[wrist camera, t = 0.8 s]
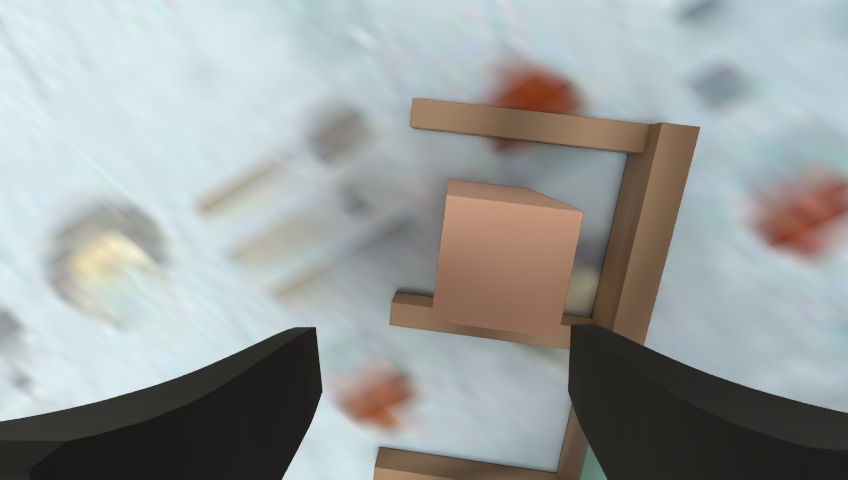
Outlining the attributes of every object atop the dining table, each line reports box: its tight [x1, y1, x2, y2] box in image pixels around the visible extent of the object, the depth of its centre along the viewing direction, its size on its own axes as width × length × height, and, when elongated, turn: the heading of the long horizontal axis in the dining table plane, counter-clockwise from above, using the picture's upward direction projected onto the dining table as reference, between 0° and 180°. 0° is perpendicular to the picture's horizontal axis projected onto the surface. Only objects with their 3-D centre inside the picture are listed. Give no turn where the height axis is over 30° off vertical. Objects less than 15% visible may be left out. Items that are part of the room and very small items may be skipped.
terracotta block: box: [431, 179, 583, 338], centre depth 16 cm, size 4×4×8 cm
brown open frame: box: [373, 98, 700, 480], centre depth 20 cm, size 12×30×3 cm, turn 173°
